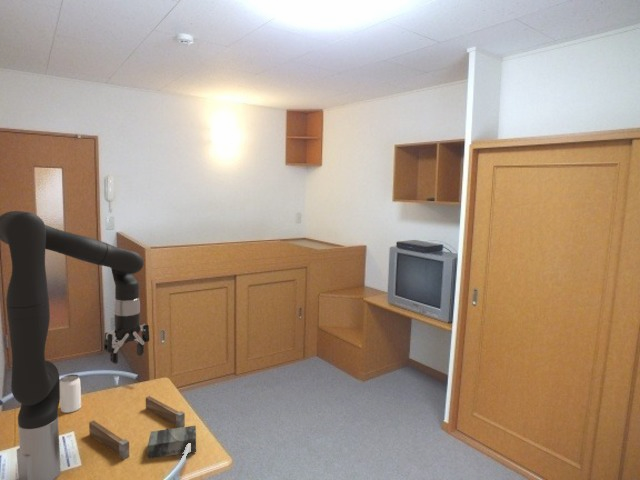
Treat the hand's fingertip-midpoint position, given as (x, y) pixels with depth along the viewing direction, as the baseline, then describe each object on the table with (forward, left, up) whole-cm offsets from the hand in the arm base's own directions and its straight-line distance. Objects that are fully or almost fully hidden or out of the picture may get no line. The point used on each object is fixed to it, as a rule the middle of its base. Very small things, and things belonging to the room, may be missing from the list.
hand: (127, 358), depth 138 cm
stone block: (+4, -19, -26) cm, 32 cm away
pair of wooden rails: (+2, -2, -26) cm, 26 cm away
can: (-5, +29, -26) cm, 39 cm away
